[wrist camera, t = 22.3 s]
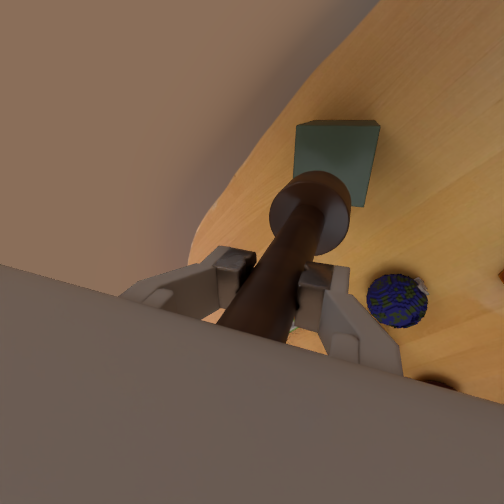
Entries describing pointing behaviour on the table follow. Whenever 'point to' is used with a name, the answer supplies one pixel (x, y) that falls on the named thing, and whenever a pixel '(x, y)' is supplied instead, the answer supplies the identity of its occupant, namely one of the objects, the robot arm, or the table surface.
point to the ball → (397, 300)
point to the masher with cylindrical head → (290, 253)
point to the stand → (338, 152)
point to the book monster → (501, 276)
